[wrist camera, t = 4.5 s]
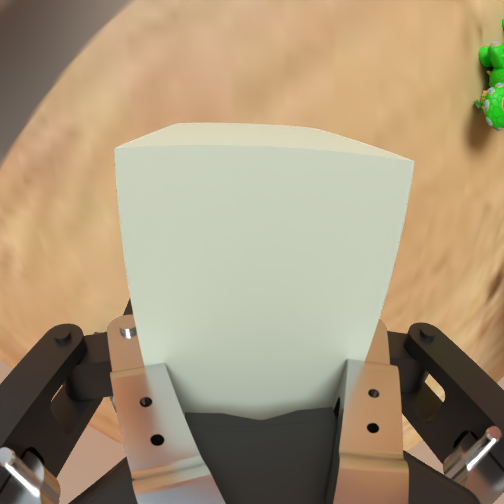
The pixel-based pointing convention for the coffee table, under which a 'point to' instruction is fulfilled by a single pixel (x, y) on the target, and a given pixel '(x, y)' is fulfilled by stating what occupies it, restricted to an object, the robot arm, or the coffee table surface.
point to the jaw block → (257, 258)
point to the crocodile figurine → (493, 85)
